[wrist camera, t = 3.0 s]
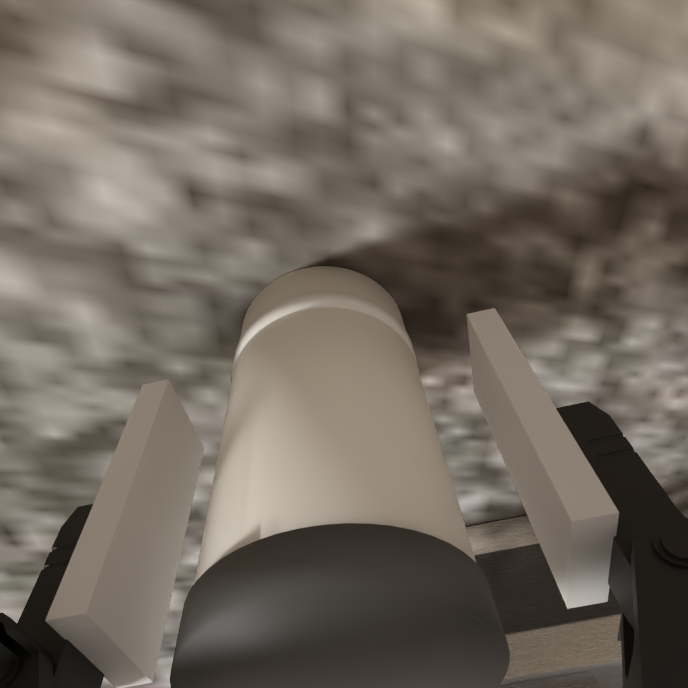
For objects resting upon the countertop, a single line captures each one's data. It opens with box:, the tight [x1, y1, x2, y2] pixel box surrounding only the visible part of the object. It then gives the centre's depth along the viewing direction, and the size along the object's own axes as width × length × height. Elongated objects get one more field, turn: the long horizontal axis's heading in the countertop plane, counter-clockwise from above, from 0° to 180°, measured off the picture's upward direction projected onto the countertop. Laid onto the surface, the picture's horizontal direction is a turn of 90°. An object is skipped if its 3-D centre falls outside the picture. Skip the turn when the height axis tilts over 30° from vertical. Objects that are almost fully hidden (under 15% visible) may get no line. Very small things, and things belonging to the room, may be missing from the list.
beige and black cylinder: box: [170, 266, 510, 688], centre depth 12 cm, size 5×5×10 cm
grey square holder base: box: [466, 516, 623, 688], centre depth 22 cm, size 12×10×7 cm
